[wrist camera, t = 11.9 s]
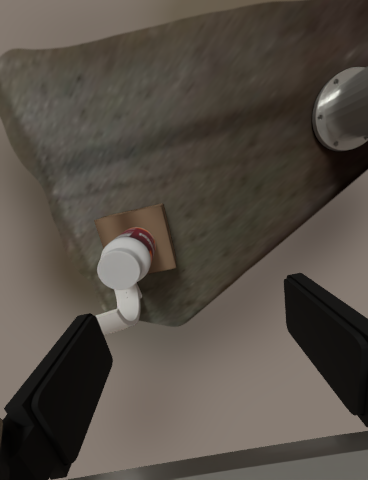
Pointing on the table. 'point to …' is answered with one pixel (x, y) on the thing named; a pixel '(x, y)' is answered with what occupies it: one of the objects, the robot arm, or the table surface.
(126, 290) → the headphone stand
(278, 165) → the table surface
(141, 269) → the pill bottle
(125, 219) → the walnut block
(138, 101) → the table surface
